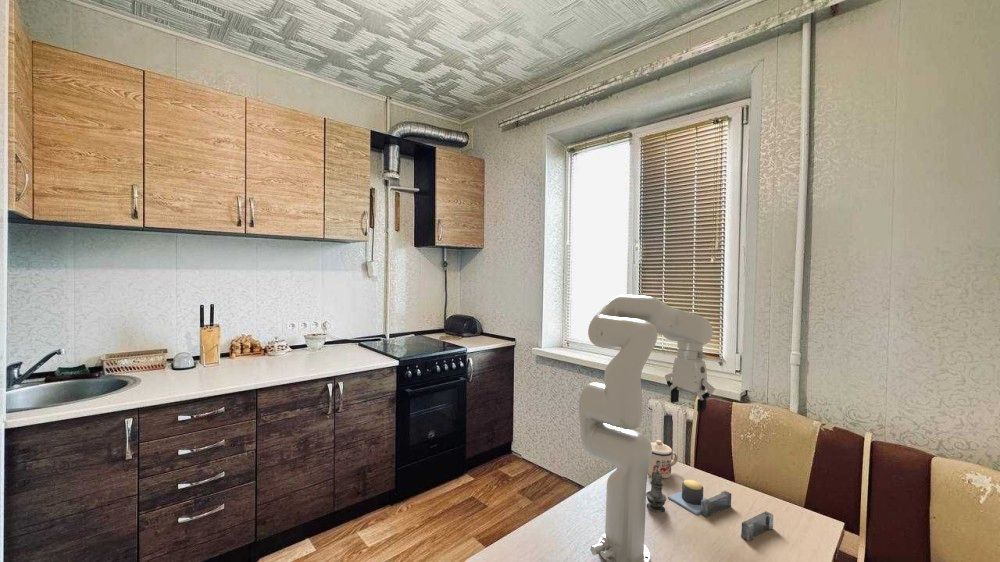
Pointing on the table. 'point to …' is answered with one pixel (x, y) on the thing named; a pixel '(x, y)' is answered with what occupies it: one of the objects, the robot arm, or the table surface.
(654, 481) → the dark grey turned post
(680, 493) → the mat
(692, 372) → the robot arm
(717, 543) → the table surface
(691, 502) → the grey and yellow cylinder
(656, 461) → the teacup with lid
